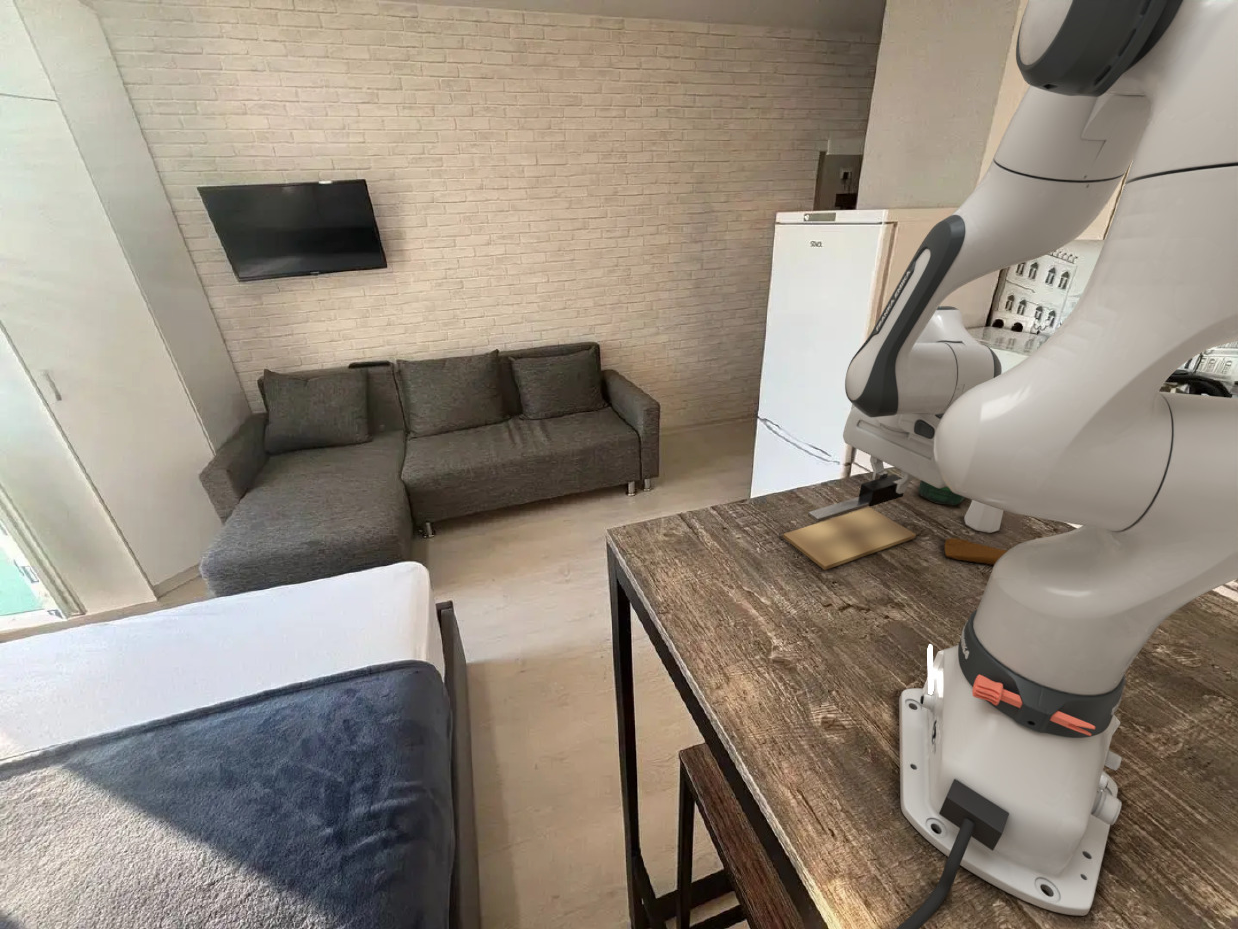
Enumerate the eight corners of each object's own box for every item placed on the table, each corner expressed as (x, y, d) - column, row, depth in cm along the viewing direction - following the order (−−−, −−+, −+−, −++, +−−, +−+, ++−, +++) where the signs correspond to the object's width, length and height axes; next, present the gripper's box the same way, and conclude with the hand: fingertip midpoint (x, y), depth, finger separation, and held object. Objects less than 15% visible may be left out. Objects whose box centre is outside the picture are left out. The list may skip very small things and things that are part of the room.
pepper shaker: (958, 524, 90) (976, 469, 85) (968, 513, 94) (986, 459, 89) (994, 537, 87) (1014, 480, 82) (1003, 524, 90) (1023, 469, 85)
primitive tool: (944, 557, 82) (950, 539, 81) (944, 539, 87) (949, 522, 85) (1097, 593, 74) (1107, 574, 72) (1088, 572, 78) (1097, 553, 76)
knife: (818, 523, 81) (821, 506, 80) (806, 515, 83) (809, 498, 82) (902, 496, 87) (907, 480, 86) (890, 490, 90) (894, 474, 88)
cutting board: (824, 570, 80) (825, 566, 80) (782, 537, 89) (783, 533, 88) (915, 538, 87) (916, 534, 87) (868, 510, 96) (869, 506, 95)
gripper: (841, 394, 88) (829, 465, 94) (952, 437, 71) (928, 520, 77) (868, 388, 90) (855, 458, 96) (982, 428, 73) (956, 510, 79)
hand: (888, 486), depth 87 cm, fingers closed on knife, 2 cm apart
